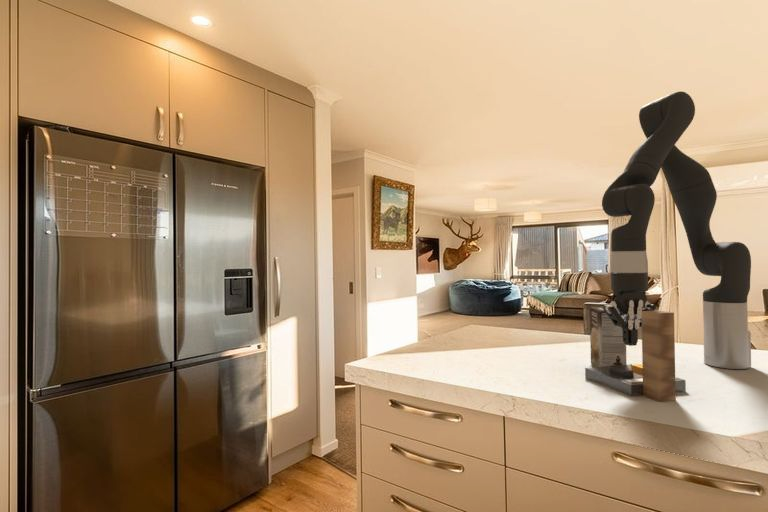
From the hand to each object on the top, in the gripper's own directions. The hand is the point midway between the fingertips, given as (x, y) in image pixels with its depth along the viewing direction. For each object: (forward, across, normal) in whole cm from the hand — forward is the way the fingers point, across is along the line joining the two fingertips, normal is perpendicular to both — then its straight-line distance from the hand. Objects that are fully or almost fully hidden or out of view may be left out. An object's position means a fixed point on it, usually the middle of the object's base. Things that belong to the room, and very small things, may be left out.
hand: (630, 344), depth 95 cm
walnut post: (+9, +2, +10) cm, 13 cm away
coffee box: (+9, -4, -12) cm, 16 cm away
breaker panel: (+10, 0, 0) cm, 10 cm away
